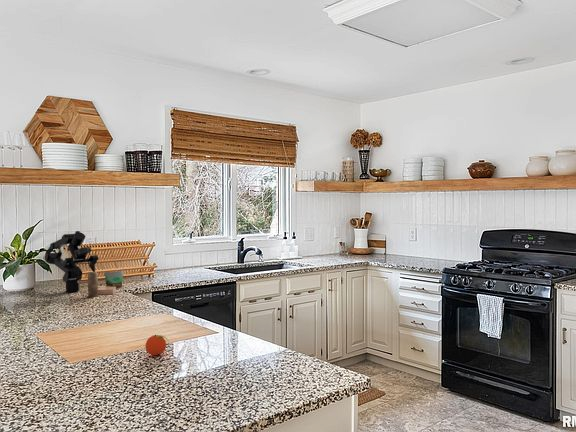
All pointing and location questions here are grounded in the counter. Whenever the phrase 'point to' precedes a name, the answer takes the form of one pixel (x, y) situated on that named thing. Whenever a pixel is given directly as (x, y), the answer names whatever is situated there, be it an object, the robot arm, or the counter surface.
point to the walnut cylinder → (93, 284)
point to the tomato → (156, 344)
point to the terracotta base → (106, 290)
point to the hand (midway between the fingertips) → (86, 272)
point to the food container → (114, 279)
